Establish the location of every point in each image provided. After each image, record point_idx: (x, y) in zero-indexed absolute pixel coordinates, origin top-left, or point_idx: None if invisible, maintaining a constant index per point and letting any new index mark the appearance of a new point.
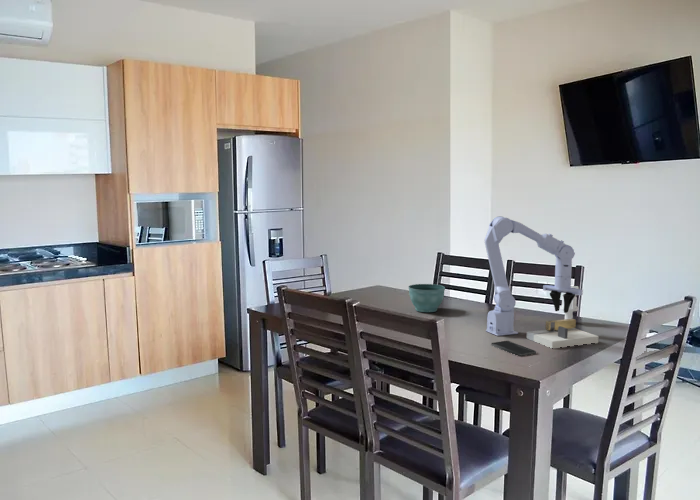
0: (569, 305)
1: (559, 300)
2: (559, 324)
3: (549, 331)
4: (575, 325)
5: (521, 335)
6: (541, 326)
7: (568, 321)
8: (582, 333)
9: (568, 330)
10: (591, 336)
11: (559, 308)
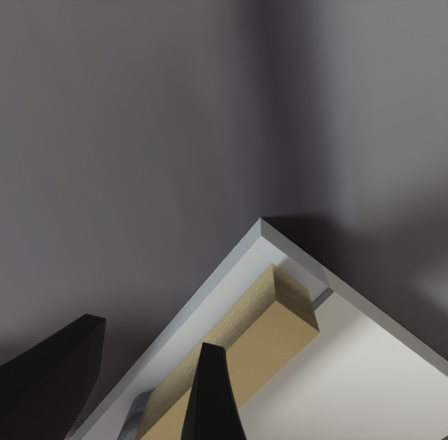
0: (234, 421)
1: (10, 423)
2: None
3: None
4: (309, 301)
5: None
6: (9, 108)
7: (258, 382)
8: (370, 383)
9: None
10: (436, 430)
11: (95, 328)
